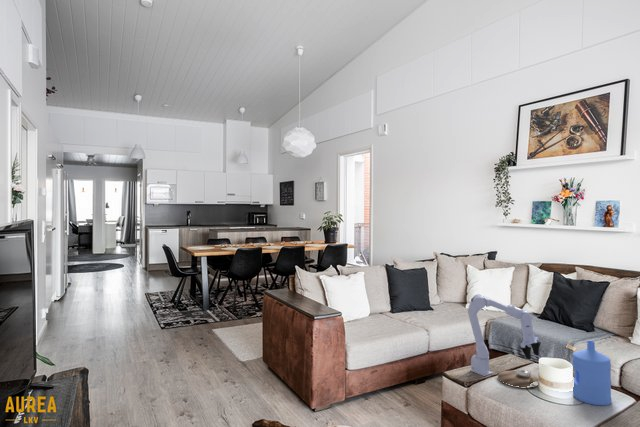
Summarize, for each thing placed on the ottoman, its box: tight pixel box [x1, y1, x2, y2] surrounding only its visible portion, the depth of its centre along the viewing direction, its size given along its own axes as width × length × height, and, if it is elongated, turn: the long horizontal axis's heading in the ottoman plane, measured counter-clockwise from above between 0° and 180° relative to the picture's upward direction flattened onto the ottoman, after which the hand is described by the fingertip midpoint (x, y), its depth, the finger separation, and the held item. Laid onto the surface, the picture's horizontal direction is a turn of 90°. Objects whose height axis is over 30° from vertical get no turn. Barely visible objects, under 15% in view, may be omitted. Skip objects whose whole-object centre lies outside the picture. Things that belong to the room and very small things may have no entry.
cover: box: [515, 368, 532, 378], centre depth 223 cm, size 7×7×3 cm
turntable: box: [497, 370, 539, 387], centre depth 220 cm, size 20×20×4 cm
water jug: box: [572, 340, 612, 407], centre depth 198 cm, size 16×16×28 cm
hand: (532, 357), depth 225 cm, fingers open, 7 cm apart
